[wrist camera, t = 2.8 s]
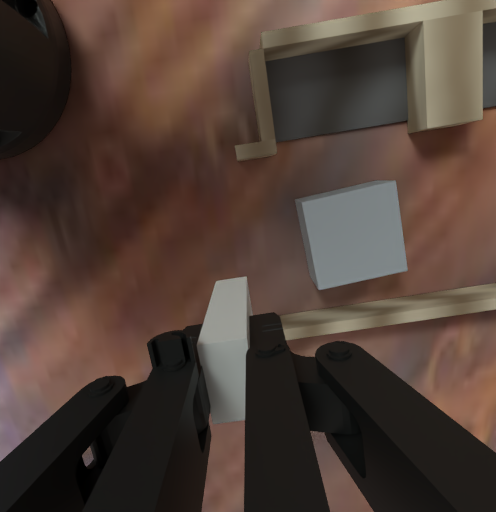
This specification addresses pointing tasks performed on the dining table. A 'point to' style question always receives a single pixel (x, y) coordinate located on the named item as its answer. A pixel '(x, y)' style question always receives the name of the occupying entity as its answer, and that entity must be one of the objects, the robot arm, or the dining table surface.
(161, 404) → the robot arm
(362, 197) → the block
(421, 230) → the dining table surface
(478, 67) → the box
